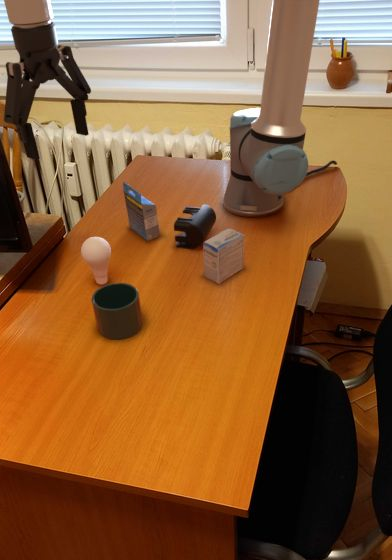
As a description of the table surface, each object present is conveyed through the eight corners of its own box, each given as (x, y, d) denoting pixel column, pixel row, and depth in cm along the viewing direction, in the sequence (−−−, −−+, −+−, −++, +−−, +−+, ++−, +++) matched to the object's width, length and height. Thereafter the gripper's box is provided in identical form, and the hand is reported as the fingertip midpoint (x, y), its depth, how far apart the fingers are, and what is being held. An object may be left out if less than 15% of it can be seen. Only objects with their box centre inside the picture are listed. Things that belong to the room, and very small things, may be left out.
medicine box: (229, 262, 122) (228, 226, 116) (244, 269, 120) (244, 233, 114) (204, 277, 118) (202, 241, 112) (219, 285, 116) (218, 249, 110)
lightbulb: (84, 291, 117) (74, 245, 109) (93, 275, 121) (83, 230, 114) (112, 292, 116) (103, 246, 108) (120, 276, 120) (112, 231, 113)
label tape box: (160, 236, 132) (155, 188, 124) (146, 242, 131) (140, 193, 122) (142, 223, 138) (136, 175, 130) (128, 228, 136) (121, 180, 128)
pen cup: (135, 307, 111) (130, 278, 107) (148, 332, 105) (144, 302, 101) (93, 318, 109) (86, 289, 105) (104, 345, 103) (98, 315, 98)
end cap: (204, 252, 126) (202, 225, 121) (175, 248, 128) (172, 222, 123) (216, 231, 133) (216, 205, 128) (189, 227, 135) (187, 201, 130)
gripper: (67, 7, 104) (88, 122, 118) (-42, 37, 89) (-3, 165, 103) (97, 10, 101) (114, 128, 115) (-11, 41, 86) (24, 172, 100)
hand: (58, 145), depth 109 cm, fingers open, 13 cm apart
